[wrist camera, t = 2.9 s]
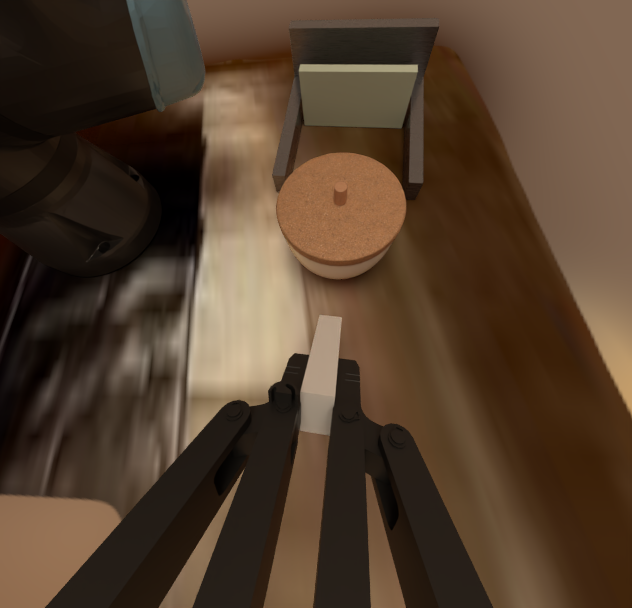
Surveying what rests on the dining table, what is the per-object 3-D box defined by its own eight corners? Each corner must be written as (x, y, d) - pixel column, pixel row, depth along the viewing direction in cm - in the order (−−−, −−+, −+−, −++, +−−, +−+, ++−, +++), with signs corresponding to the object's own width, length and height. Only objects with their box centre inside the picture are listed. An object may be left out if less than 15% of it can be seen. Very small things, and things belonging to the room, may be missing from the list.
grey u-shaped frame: (277, 191, 29) (260, 137, 22) (298, 89, 34) (290, 20, 27) (414, 199, 27) (442, 143, 21) (416, 91, 32) (438, 18, 26)
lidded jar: (301, 206, 28) (286, 128, 19) (389, 215, 27) (418, 137, 18) (282, 286, 25) (255, 239, 16) (380, 300, 24) (409, 259, 15)
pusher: (304, 125, 32) (298, 71, 26) (305, 119, 32) (300, 64, 26) (401, 128, 31) (417, 72, 25) (401, 121, 31) (417, 64, 25)
